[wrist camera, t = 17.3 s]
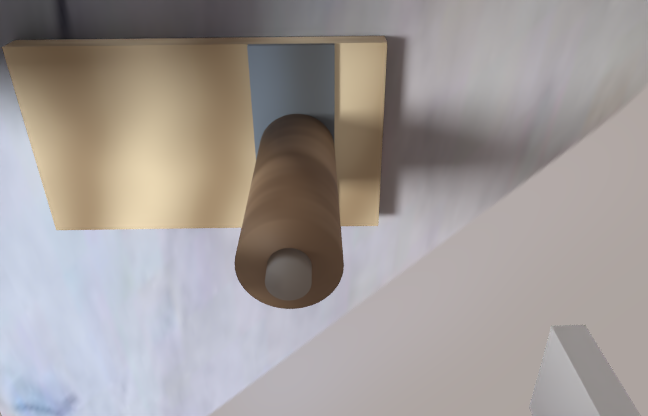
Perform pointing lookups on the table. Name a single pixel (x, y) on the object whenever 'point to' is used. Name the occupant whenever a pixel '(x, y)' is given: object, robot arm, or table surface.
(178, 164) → the flat metallic slab
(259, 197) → the brown wooden cylinder
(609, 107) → the table surface
